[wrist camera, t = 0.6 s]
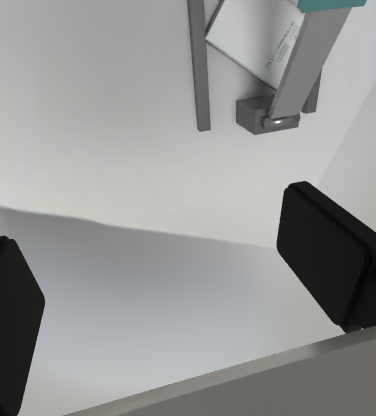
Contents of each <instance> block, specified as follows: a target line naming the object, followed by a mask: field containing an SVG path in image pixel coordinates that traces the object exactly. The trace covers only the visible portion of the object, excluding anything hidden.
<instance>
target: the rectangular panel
mask: <svg viewBox="0 0 376 416" xmlns="http://www.w3.org/2000/svg"><path fill="white" fill-rule="evenodd" d="M366 1H367V0H299V1H298V4H297V7H298V8H299V9H300V11H301V12H302V13H306V14H305V17H304V19H303V22H302V25H301V27H300V30H299V33H298V35H297V38H296V41H295V44H294V46H293V49H292V52H291V54H290V57H289V60H288V62H287V65H286V68H285V70H284V73H283V76H282V78H281V81H280V84H279V87H278V89H277V92H276V95H275V97H274V100H273V103H272V105H271V108H270V111H269V113H268V115H269V117H268V118H263V119H262V127H263V128H264V129H265V128H271V127H276V126H282V125H288V124H293V123H298V122H299V121H300V115H299V113H300V111H301V109H302V107H303V105H304V103H305V101H306V99H307V97H308V95H309V93H310V91H311V89H312V87H313V85H314V83H315V81H316V79H317V77H318V75H319V73H320V71H321V69H322V67H323V65H324V63H325V61H326V59H327V57H328V55H329V53H330V51H331V49H332V47H333V45H334V43H335V41H336V39H337V37H338V35H339V33H340V31H341V29H342V27H343V25H344V23H345V21H346V19H347V17H348V15H349V13H350V11H351V9H352V7H358V6H364V5H365V3H366Z"/></svg>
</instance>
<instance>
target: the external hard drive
mask: <svg viewBox="0 0 376 416" xmlns="http://www.w3.org/2000/svg"><path fill="white" fill-rule="evenodd" d="M304 17H305V16H304V15H303V14H302V13H301V12H300V11H299V10H298V9H297V8H295V7H294V6H293V5H292V4H291V3H290V2H289V1H288V0H221V2H220V4H219V6H218V8H217V10H216V12H215V14H214V16H213V18H212V20H211V22H210V24H209V26H208V28H207V30H206V32H205V34H206V36H205V39H206V41H207V42H208V43H210V44H211V45H213V46H214V47H215V48H217V49H218V50H220V51H221V52H222V53H224V54H225V55H227V56H228V57H229V58H231V59H232V60H234V61H235V62H237V63H238V64H239V65H241V66H242V67H244V68H245V69H246V70H248V71H249V72H250V73H252V74H253V75H255V76H256V77H258V78H259V79H260V80H262V81H263V82H265V83H266V84H267V85H269V86H270V87H271V88H273V89H274V90H276V91H277V89H278V87H279V84H280V81H281V78H282V76H283V73H284V70H285V68H286V65H287V62H288V60H289V57H290V54H291V52H292V49H293V46H294V44H295V41H296V38H297V35H298V33H299V30H300V27H301V25H302V22H303V19H304Z"/></svg>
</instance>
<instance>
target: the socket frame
mask: <svg viewBox="0 0 376 416" xmlns="http://www.w3.org/2000/svg"><path fill="white" fill-rule="evenodd" d="M188 11H189V23H190V36H191V49H192V61H193V74H194V87H195V99H196V112H197V125H198V130H199V131H200V132H202V131H208V130H211V127H210V109H209V90H208V72H207V53H206V39H205V36H206V34H205V16H204V0H188ZM321 72H322V69H321V71H320V73H319V75H318V77H317V79H316V81H315V83H314V85H313V87H312V89H311V91H310V93H309V95H308V97H307V99H306V101H305V103H304V105H303V107H302V112H303V113H306V114H307V113H313V112H316V106H317V99H318V92H319V85H320V78H321ZM274 97H275V95H271V96H265V97H259V98H252V99H246V100H240V101H236V118H237V124H239V125H240V126H242V127H243V128H245V129H246V130H248V131H249V132H251V133H252V134H254V135H257V134H262V133H268V132H274V131H279V130H285V129H290V128H296V127H298V124H299V122H298V123H293V124H288V125H282V126H276V127H271V128H265V129H264V128H263V127H262V119H263V118H268V117H269V115H268V113H269V111H270V108H271V105H272V103H273V100H274ZM299 115H300V113H299Z"/></svg>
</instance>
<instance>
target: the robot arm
mask: <svg viewBox="0 0 376 416" xmlns="http://www.w3.org/2000/svg"><path fill="white" fill-rule="evenodd" d="M277 250H278V252H279V254H280V255H281V256H282V257H283V259H284V260H285V262H286V263H287V264H288V265H289V267H290V268H291V269H292V271H293V272H294V273H295V274H296V276H297V277H298V278H299V280H300V281H301V282H302V283H303V285H304V286H305V287H306V288H307V290H308V291H309V292H310V294H311V295H312V296H313V297H314V299H315V300H316V301H317V303H318V304H319V305H320V307H321V308H322V309H323V310H324V312H325V313H326V314H327V316H328V317H329V318H330V319H331V321H332V322H333V323H334V324H336V325H339V326H340V327H341V328H342V329H343V331H344V332H345V333H346V334H344V335H340V336H337V337H333V338H330V339H326V340H323V341H319V342H316V343H312V344H309V345H305V346H301V347H298V348H295V349H291V350H288V351H284V352H280V353H277V354H273V355H270V356H266V357H263V358H259V359H256V360H252V361H249V362H245V363H242V364H239V365H235V366H232V367H228V368H225V369H221V370H218V371H214V372H211V373H207V374H204V375H200V376H197V377H194V378H190V379H187V380H183V381H180V382H177V383H173V384H169V385H166V386H162V387H159V388H156V389H152V390H149V391H146V392H142V393H139V394H135V395H132V396H128V397H125V398H122V399H118V400H115V401H112V402H108V403H105V404H102V405H98V406H95V407H91V408H88V409H85V410H81V411H78V412H74V413H71V414H67V415H64V416H376V232H374V231H373V230H372V229H370V228H369V227H368V226H366V225H365V224H364V223H362V222H361V221H360V220H358V219H357V218H356V217H354V216H353V215H351V214H350V213H349V212H348V211H346V210H345V209H343V208H342V207H341V206H339V205H338V204H337V203H335V202H334V201H333V200H331V199H330V198H329V197H327V196H326V195H325V194H323V193H322V192H321V191H319V190H318V189H317V188H315V187H314V186H313V185H311V184H310V183H308V182H307V181H302V182H297V183H291V184H289V186H288V188H286V189H285V190H284V195H283V202H282V209H281V216H280V223H279V230H278V237H277ZM44 306H45V299H44V295H43V293H42V291H41V289H40V287H39V285H38V284H37V282H36V280H35V278H34V276H33V274H32V272H31V270H30V268H29V266H28V264H27V262H26V260H25V258H24V256H23V255H22V252H21V251H20V249H19V247H18V245H17V243H16V241H15V240H14V239H9V238H8V237H6V236H0V416H17V415H18V413H19V411H20V408H21V403H22V400H23V395H24V391H25V386H26V383H27V378H28V374H29V370H30V365H31V362H32V357H33V353H34V349H35V345H36V341H37V336H38V332H39V328H40V324H41V319H42V315H43V311H44ZM362 328H363V329H362ZM361 329H362V330H361Z"/></svg>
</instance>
